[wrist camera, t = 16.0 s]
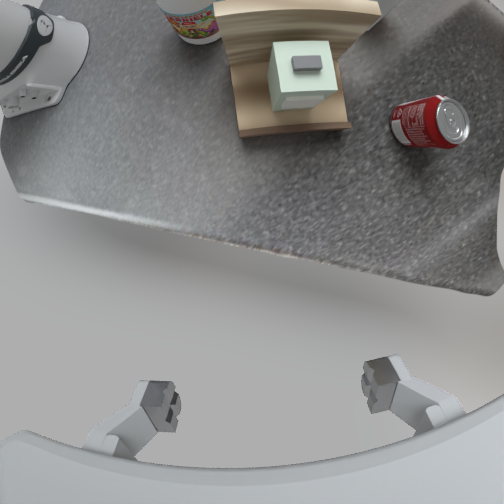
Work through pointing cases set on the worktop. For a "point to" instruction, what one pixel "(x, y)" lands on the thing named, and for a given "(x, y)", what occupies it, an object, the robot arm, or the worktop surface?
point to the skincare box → (385, 8)
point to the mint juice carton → (300, 74)
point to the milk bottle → (192, 19)
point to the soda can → (430, 123)
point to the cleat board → (280, 30)
